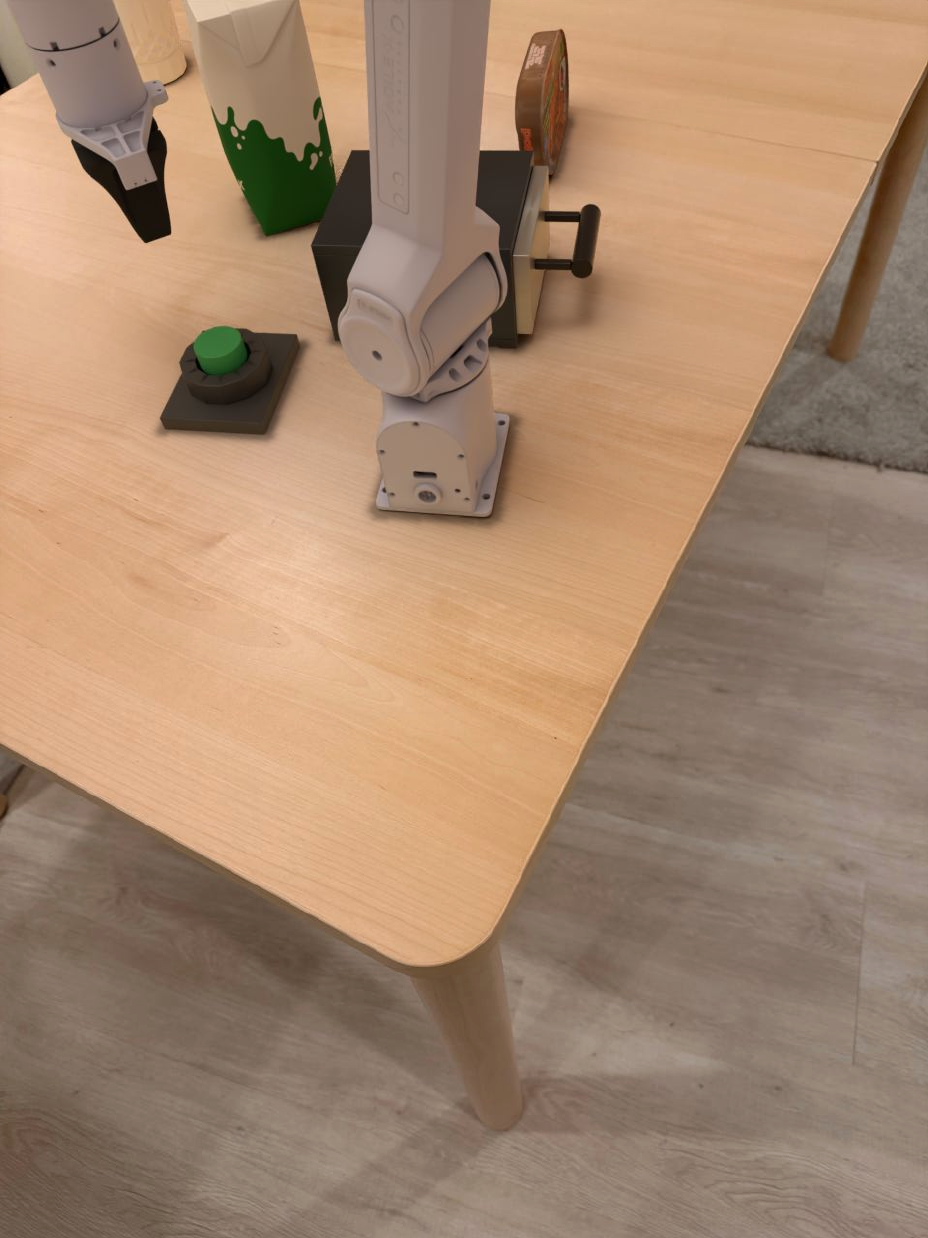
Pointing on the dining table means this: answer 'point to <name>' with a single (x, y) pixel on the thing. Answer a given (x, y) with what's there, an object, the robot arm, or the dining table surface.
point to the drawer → (547, 246)
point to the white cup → (153, 38)
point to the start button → (220, 350)
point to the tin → (543, 97)
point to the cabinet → (352, 221)
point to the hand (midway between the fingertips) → (156, 234)
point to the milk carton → (266, 106)
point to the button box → (233, 388)
